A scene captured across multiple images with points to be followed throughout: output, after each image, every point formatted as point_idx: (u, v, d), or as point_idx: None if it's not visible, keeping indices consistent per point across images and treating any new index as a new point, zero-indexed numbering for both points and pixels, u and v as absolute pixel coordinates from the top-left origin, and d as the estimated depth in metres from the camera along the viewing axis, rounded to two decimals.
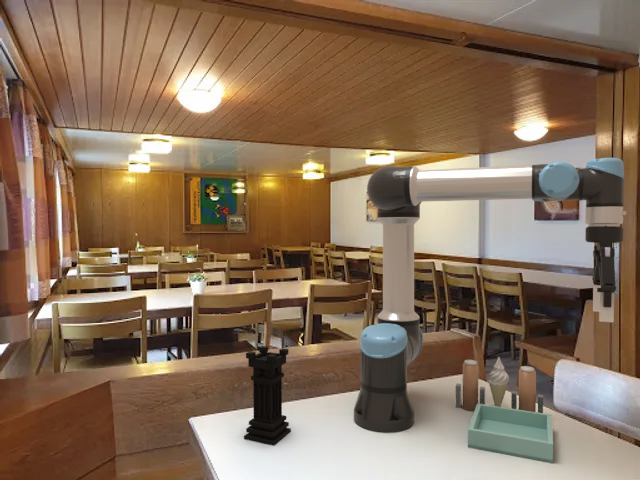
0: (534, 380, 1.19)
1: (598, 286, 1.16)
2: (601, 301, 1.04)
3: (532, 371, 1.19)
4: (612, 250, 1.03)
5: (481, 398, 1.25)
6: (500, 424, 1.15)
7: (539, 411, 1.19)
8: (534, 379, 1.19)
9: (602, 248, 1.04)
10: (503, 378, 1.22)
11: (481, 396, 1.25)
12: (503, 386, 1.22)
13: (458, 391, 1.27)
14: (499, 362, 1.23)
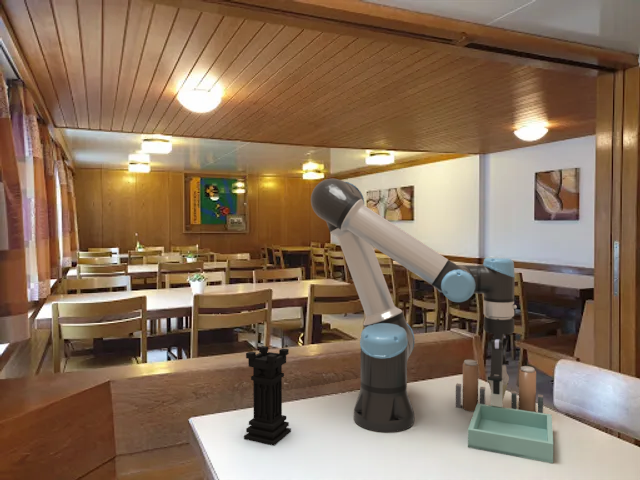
0: (534, 380, 1.19)
1: None
2: (492, 388, 1.18)
3: (532, 371, 1.19)
4: (500, 343, 1.17)
5: (481, 398, 1.25)
6: (500, 424, 1.15)
7: (539, 411, 1.19)
8: (534, 379, 1.19)
9: (492, 341, 1.18)
10: (503, 378, 1.22)
11: (481, 396, 1.25)
12: (503, 386, 1.22)
13: (458, 391, 1.27)
14: None
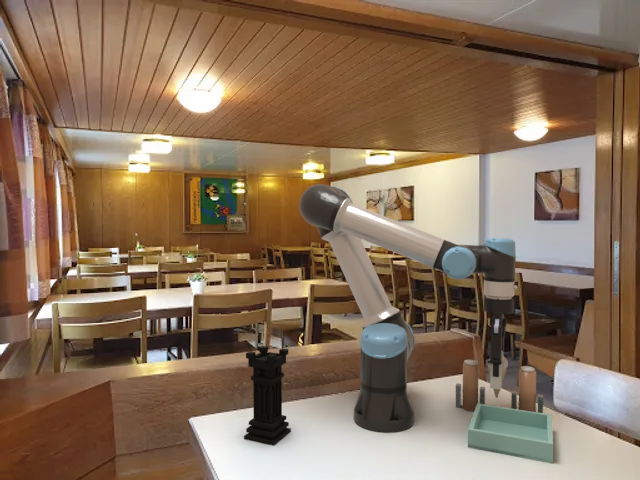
0: (534, 380, 1.19)
1: None
2: (491, 371, 1.22)
3: (532, 371, 1.19)
4: (500, 329, 1.17)
5: (481, 398, 1.25)
6: (500, 424, 1.15)
7: (539, 411, 1.19)
8: (534, 379, 1.19)
9: (492, 326, 1.18)
10: (502, 363, 1.22)
11: (481, 396, 1.25)
12: (502, 371, 1.22)
13: (458, 391, 1.27)
14: None
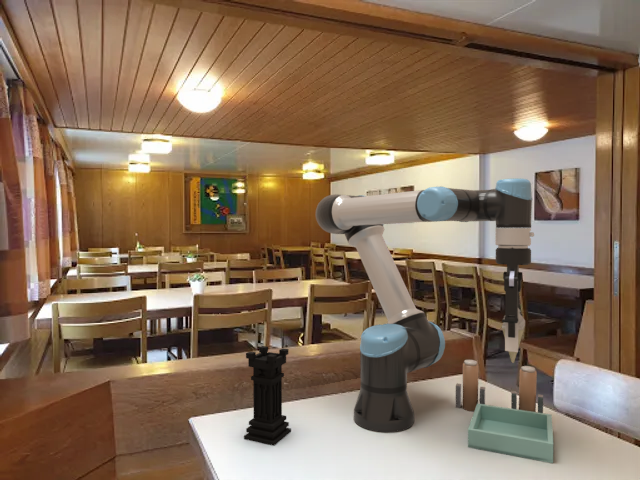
0: (535, 380, 1.19)
1: None
2: (506, 331, 1.06)
3: (533, 371, 1.19)
4: (516, 281, 1.01)
5: (481, 398, 1.25)
6: (500, 424, 1.15)
7: (539, 411, 1.19)
8: (535, 379, 1.19)
9: (506, 278, 1.02)
10: (519, 322, 1.06)
11: (481, 396, 1.25)
12: (519, 331, 1.06)
13: (458, 391, 1.27)
14: None
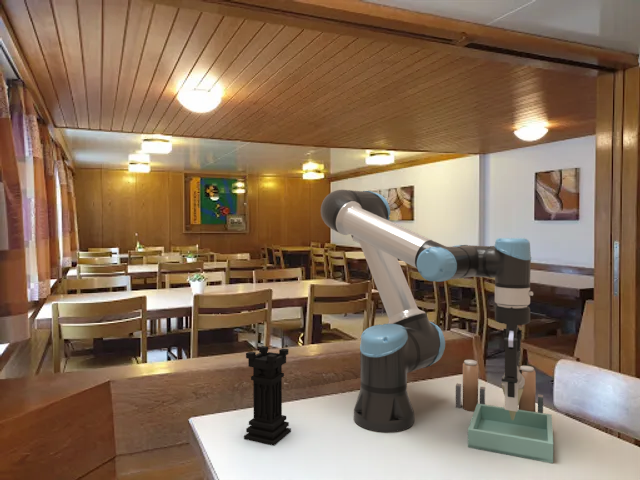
0: (534, 379, 1.20)
1: None
2: (506, 390, 1.06)
3: (532, 370, 1.20)
4: (515, 342, 1.02)
5: (481, 398, 1.25)
6: (500, 424, 1.15)
7: (539, 411, 1.19)
8: (534, 378, 1.20)
9: (506, 339, 1.03)
10: (518, 381, 1.06)
11: (481, 396, 1.25)
12: (518, 390, 1.06)
13: (458, 391, 1.27)
14: None
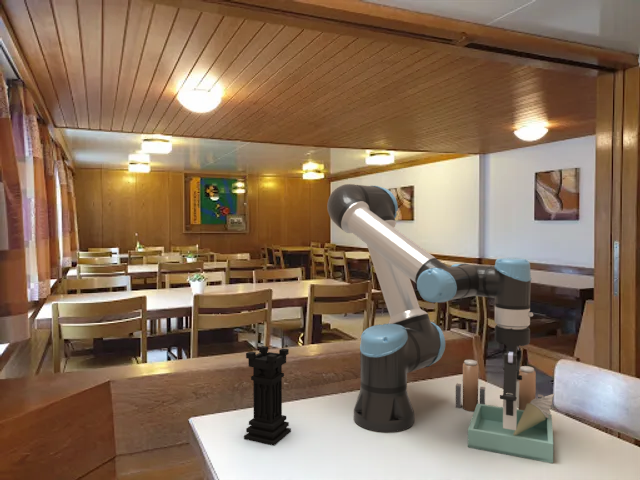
0: (534, 380, 1.19)
1: None
2: (504, 408, 1.03)
3: (532, 371, 1.19)
4: (515, 357, 1.02)
5: (481, 398, 1.25)
6: (500, 424, 1.15)
7: None
8: (534, 379, 1.19)
9: (505, 354, 1.03)
10: (548, 411, 1.10)
11: (481, 396, 1.25)
12: (543, 417, 1.09)
13: (458, 391, 1.27)
14: (551, 397, 1.13)
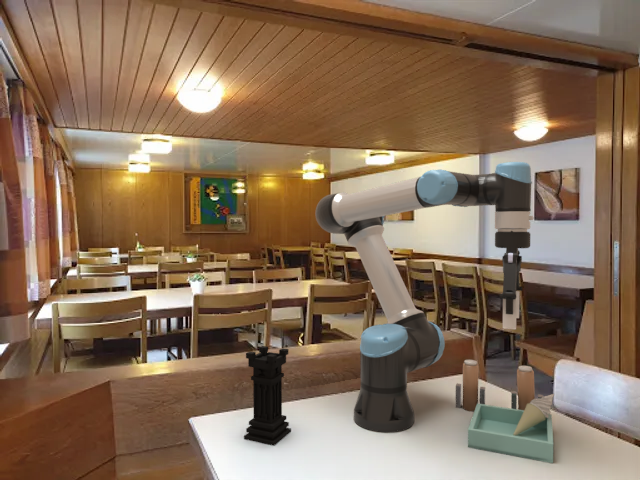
0: (533, 379, 1.20)
1: None
2: (504, 308, 1.02)
3: (530, 370, 1.20)
4: (515, 256, 1.02)
5: (481, 398, 1.25)
6: (500, 424, 1.15)
7: None
8: (533, 378, 1.20)
9: (505, 254, 1.02)
10: (548, 411, 1.10)
11: (481, 396, 1.25)
12: (543, 417, 1.09)
13: (458, 391, 1.27)
14: (551, 397, 1.13)
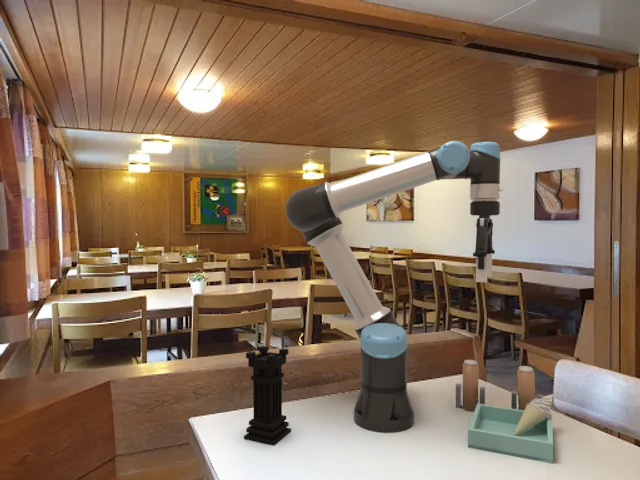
0: (533, 380, 1.19)
1: None
2: (477, 264, 1.21)
3: (531, 371, 1.19)
4: (485, 220, 1.21)
5: (481, 398, 1.25)
6: (500, 424, 1.15)
7: None
8: (533, 379, 1.19)
9: (478, 219, 1.22)
10: (548, 411, 1.10)
11: (481, 396, 1.25)
12: (543, 417, 1.09)
13: (458, 391, 1.27)
14: (551, 397, 1.13)
